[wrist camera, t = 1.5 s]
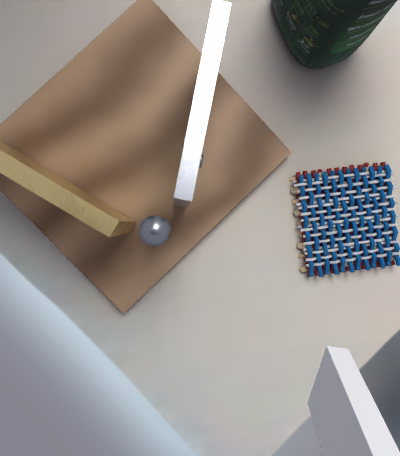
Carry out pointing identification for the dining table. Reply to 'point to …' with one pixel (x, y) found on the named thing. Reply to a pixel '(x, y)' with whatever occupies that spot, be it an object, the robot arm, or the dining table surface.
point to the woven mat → (346, 219)
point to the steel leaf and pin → (194, 124)
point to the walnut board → (136, 149)
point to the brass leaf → (62, 193)
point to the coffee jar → (327, 27)
